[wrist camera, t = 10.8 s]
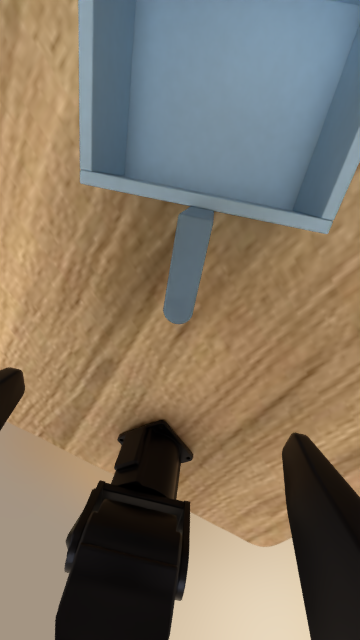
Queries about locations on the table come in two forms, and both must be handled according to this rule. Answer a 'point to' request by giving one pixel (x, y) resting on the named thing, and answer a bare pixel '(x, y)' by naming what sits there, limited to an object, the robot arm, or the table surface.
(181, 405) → the table surface
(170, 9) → the drawer
